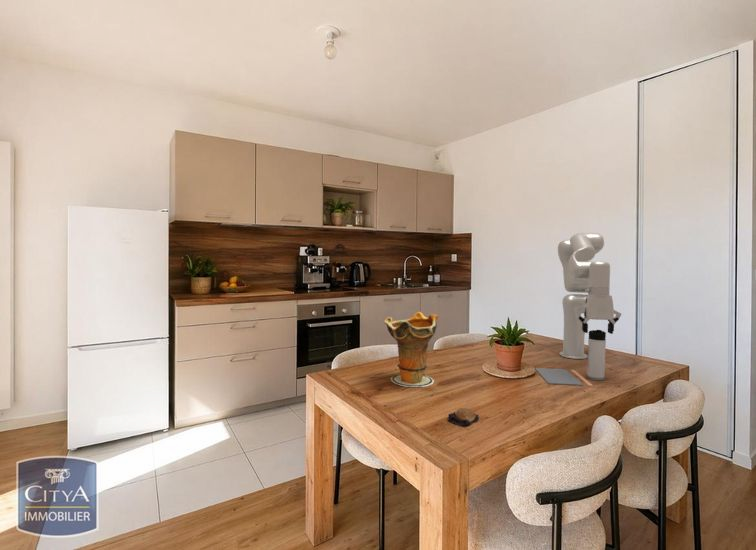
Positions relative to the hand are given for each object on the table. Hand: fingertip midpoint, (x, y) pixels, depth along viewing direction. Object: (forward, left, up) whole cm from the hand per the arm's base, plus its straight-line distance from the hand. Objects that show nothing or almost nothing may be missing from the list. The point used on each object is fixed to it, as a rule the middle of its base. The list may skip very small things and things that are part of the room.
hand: (597, 332), depth 159 cm
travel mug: (-1, 0, -20) cm, 20 cm away
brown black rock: (+48, -58, -20) cm, 78 cm away
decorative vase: (+13, -76, -20) cm, 80 cm away
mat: (0, -15, -19) cm, 25 cm away
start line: (0, -6, -19) cm, 20 cm away
